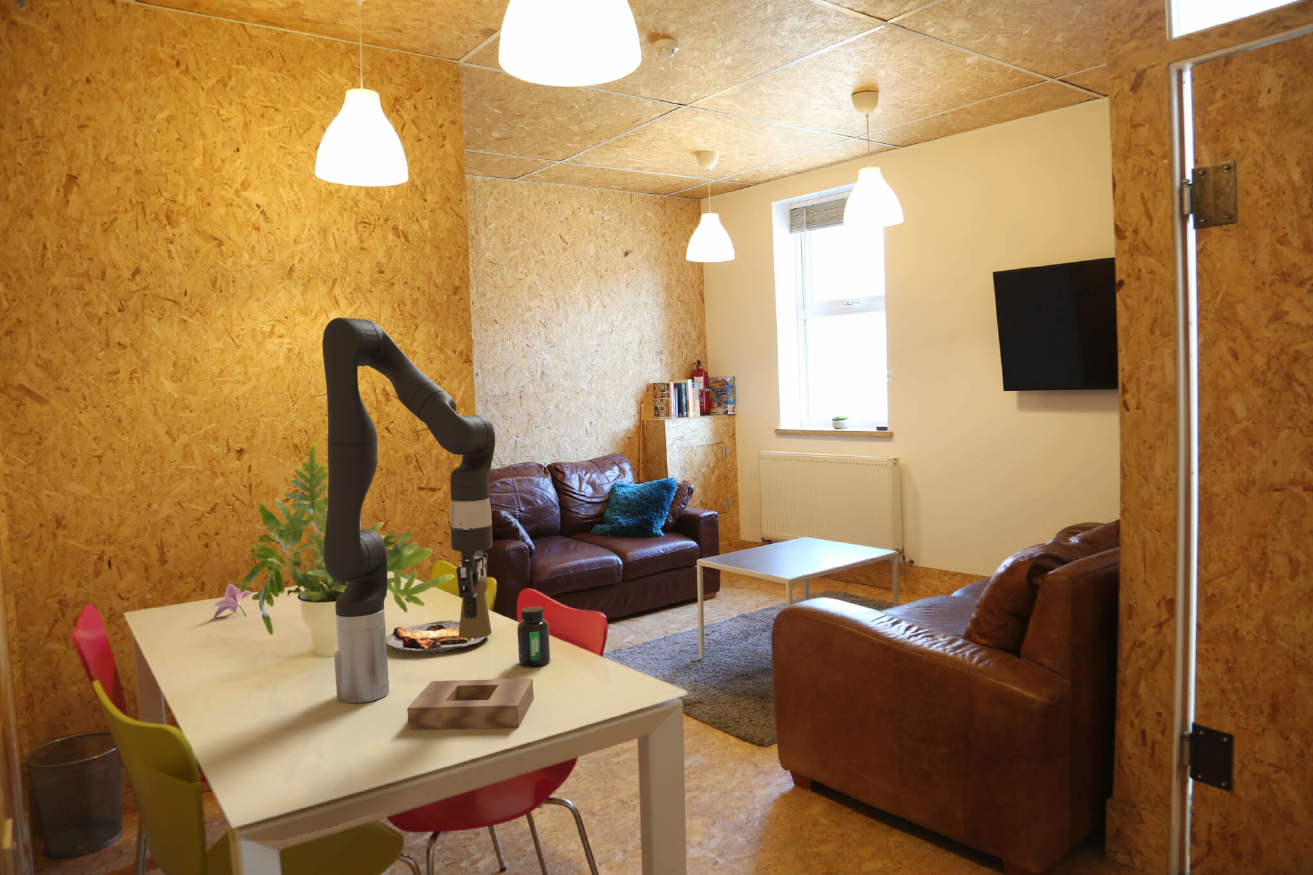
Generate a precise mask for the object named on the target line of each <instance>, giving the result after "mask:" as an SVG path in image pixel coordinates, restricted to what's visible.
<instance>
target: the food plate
mask: <svg viewBox="0 0 1313 875" xmlns="http://www.w3.org/2000/svg"><path fill="white" fill-rule="evenodd" d="M459 627H460V620H441V621H440V620H439V621H433V622H427V623H423V624H418V625H417V624H416V625H413V626H409V627H403V626H396V627H395V628H393V629H394V630H393V632H392V633H390V634H388V635H386V644H387V646H388V647H391V648H393V650H400V652H403V651H404V652H408V651H411V652H413V653H414V652H419V651H420V652H424V653H431V654H432V653H433V654H437V653H438V654H440V653H444V652H447V651H454V649H455V650H456V649H461V648H463V647H468V646H472V645H474V644H478V643H481V642H482V641H483V640H484V639H485V638H487V637H488V636H485V637H481V638H473V640H472V638H462V637H460V636H459Z"/></svg>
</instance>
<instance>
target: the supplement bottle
mask: <svg viewBox="0 0 1313 875" xmlns="http://www.w3.org/2000/svg"><path fill="white" fill-rule="evenodd" d="M520 613H521V615H520V619H521V621H519V623H518V624H517V627H516V628H517V647H518V651H517V652H518V663H519V664H520V666H522V667H523V668H524V667H525V668H539V667H543V666H546V665H548V664H549V663H550V661H551V650H550V649H551V646H550V645H551V644H550V627H549V623H548V621H547V620H546V619H544V617H545V615H544V608H543V607H541V606H528V607H523V608H522V609H521V611H520Z"/></svg>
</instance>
